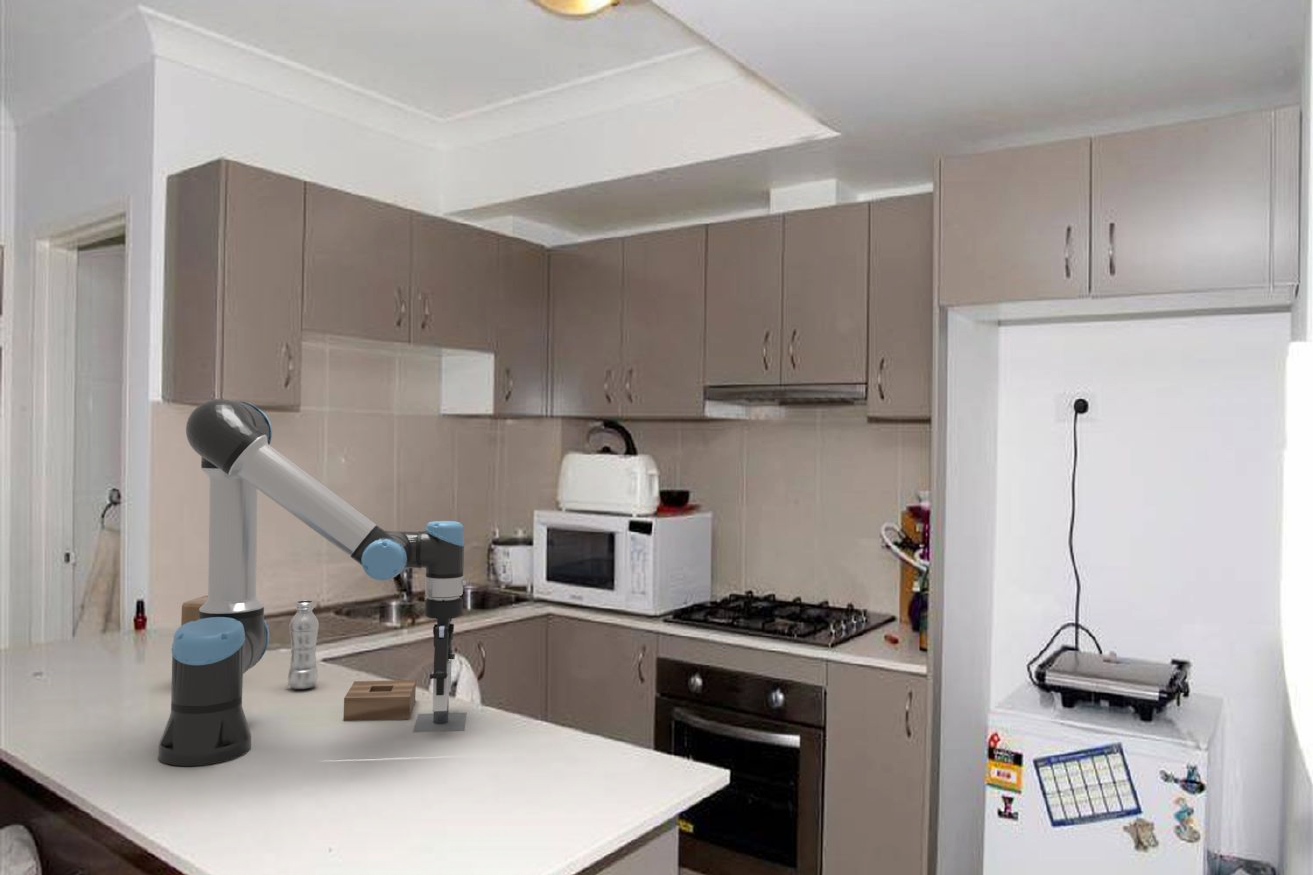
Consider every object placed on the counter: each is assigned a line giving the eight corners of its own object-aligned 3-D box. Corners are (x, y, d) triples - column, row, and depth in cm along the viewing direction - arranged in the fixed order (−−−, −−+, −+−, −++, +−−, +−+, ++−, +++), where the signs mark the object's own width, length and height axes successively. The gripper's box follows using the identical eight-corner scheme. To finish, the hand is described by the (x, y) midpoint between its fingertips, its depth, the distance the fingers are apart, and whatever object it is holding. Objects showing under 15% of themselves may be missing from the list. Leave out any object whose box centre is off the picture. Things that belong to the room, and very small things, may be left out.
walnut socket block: (409, 720, 184) (409, 696, 184) (343, 722, 182) (344, 697, 182) (415, 702, 197) (415, 679, 197) (353, 703, 195) (354, 681, 195)
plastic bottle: (322, 685, 209) (325, 599, 209) (308, 693, 202) (311, 604, 202) (296, 683, 210) (299, 598, 210) (281, 691, 203) (284, 603, 203)
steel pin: (447, 723, 182) (449, 664, 182) (432, 724, 181) (434, 665, 181) (448, 719, 185) (450, 661, 185) (433, 719, 184) (435, 661, 184)
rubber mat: (464, 732, 178) (464, 730, 178) (412, 733, 176) (412, 731, 176) (466, 714, 190) (466, 712, 190) (418, 715, 188) (418, 713, 188)
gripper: (460, 607, 172) (457, 718, 171) (465, 586, 196) (463, 683, 196) (419, 608, 170) (417, 719, 170) (430, 587, 195) (428, 684, 195)
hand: (442, 700), depth 183 cm, fingers open, 13 cm apart
